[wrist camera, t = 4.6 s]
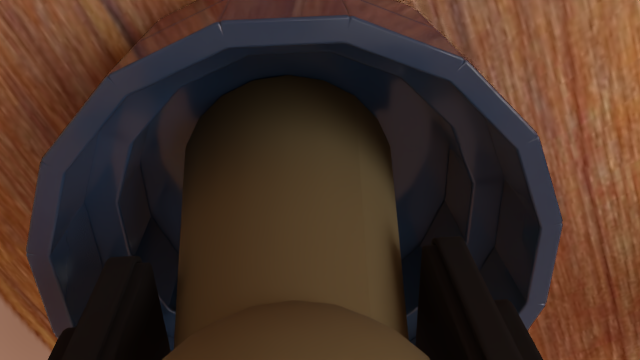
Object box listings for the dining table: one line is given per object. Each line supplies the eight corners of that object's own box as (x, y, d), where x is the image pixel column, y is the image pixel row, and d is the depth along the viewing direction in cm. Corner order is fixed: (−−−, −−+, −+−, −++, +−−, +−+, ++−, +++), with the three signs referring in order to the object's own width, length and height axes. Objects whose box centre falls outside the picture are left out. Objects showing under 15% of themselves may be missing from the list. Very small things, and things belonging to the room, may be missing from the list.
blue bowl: (141, 329, 19) (97, 462, 15) (55, -16, 14) (-54, 32, 9) (467, 309, 20) (519, 433, 15) (509, -35, 14) (611, 3, 10)
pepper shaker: (269, 290, 18) (253, 766, 8) (137, 156, 15) (-104, 619, 6) (430, 194, 17) (632, 634, 7) (314, 29, 14) (383, 363, 4)
